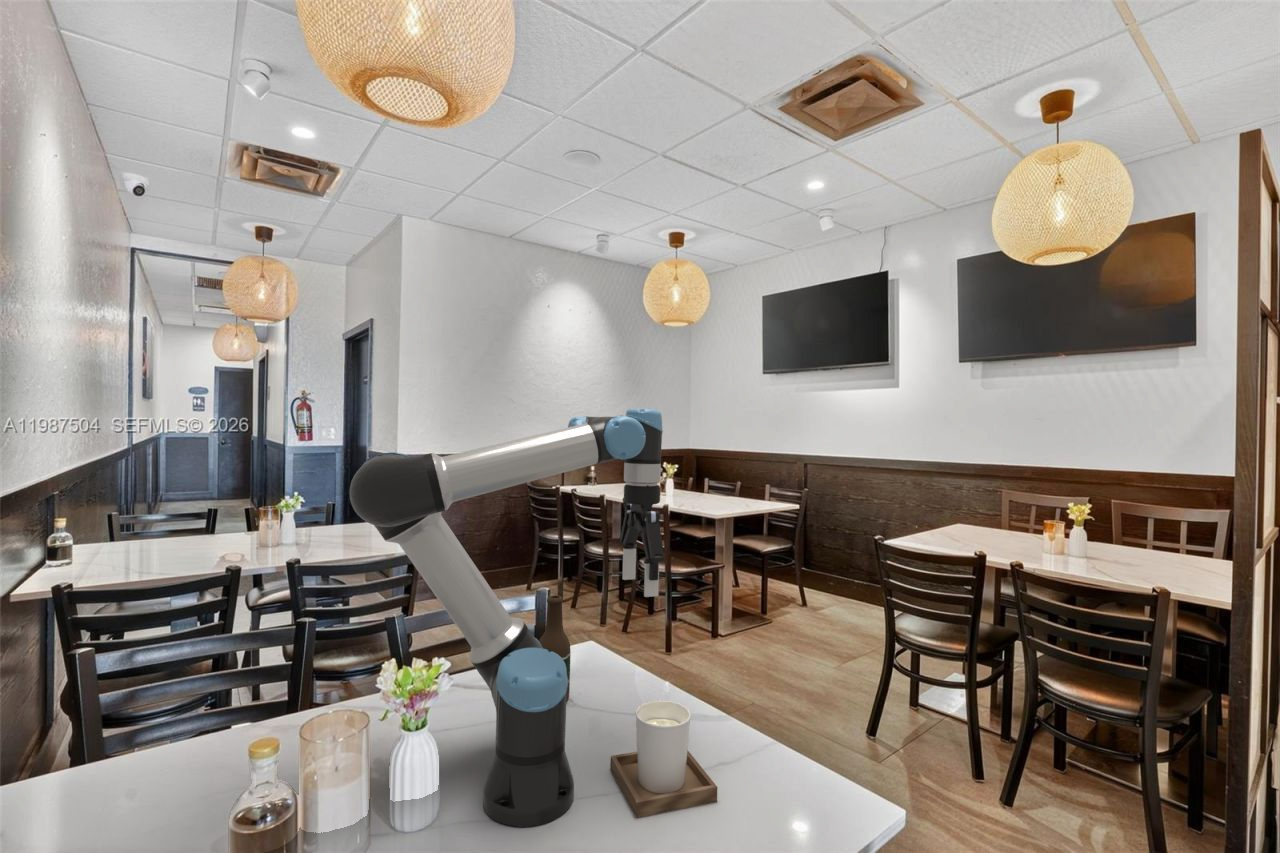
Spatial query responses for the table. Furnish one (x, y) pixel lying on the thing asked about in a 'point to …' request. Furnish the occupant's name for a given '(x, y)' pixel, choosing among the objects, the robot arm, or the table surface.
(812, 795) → the table surface
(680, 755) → the candle holder
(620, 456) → the robot arm
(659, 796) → the tray
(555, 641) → the beer bottle
